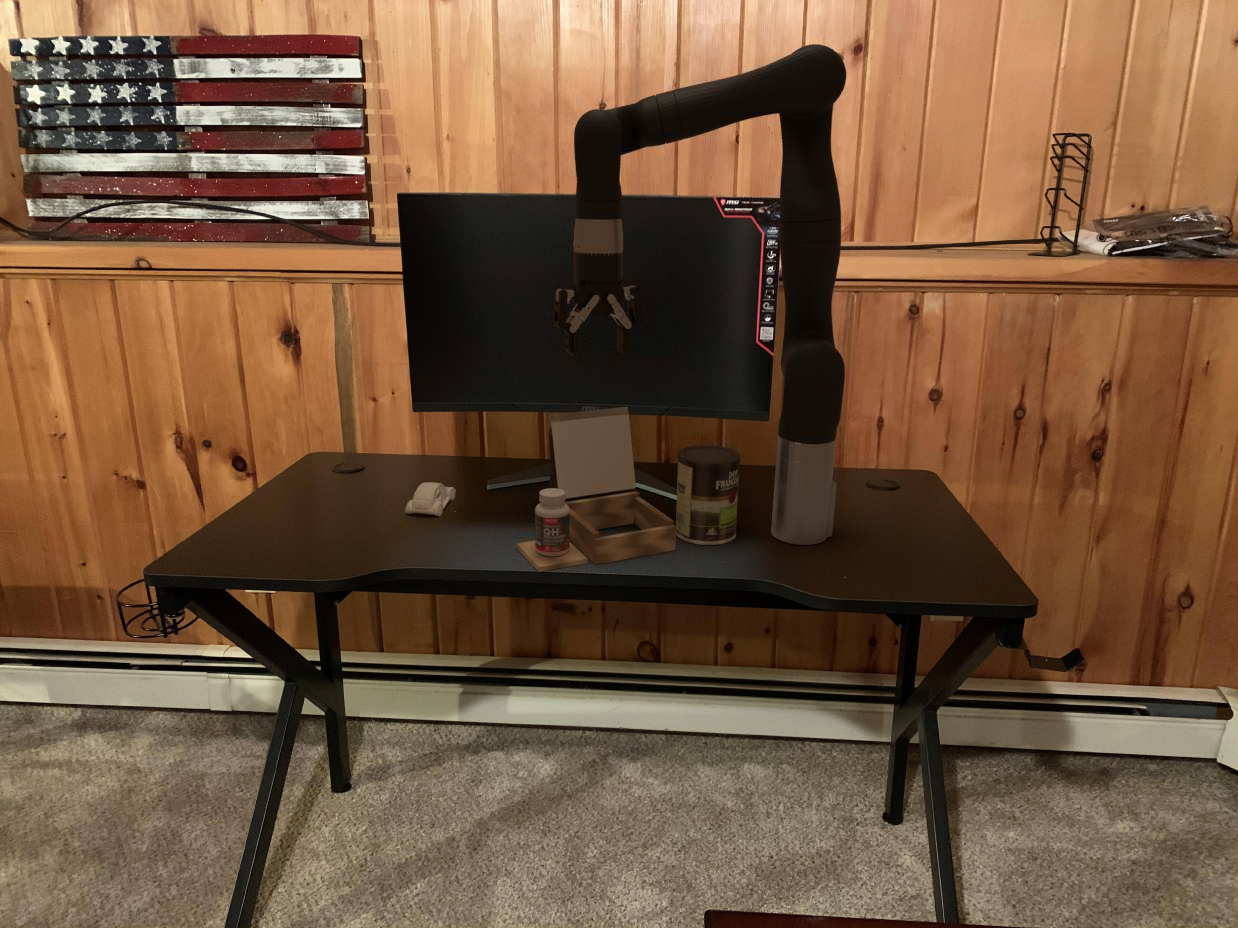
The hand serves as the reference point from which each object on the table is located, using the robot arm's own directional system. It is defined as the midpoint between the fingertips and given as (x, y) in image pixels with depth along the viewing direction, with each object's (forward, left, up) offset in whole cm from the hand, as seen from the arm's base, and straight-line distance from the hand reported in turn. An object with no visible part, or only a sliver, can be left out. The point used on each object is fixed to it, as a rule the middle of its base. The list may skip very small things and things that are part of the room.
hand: (597, 353), depth 146 cm
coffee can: (-16, +9, -30) cm, 35 cm away
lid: (-1, -3, -17) cm, 18 cm away
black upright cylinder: (-1, -13, -30) cm, 33 cm away
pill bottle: (+11, +7, -30) cm, 32 cm away
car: (+22, -23, -31) cm, 44 cm away
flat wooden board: (+11, +7, -30) cm, 33 cm away
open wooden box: (-1, +6, -30) cm, 31 cm away
